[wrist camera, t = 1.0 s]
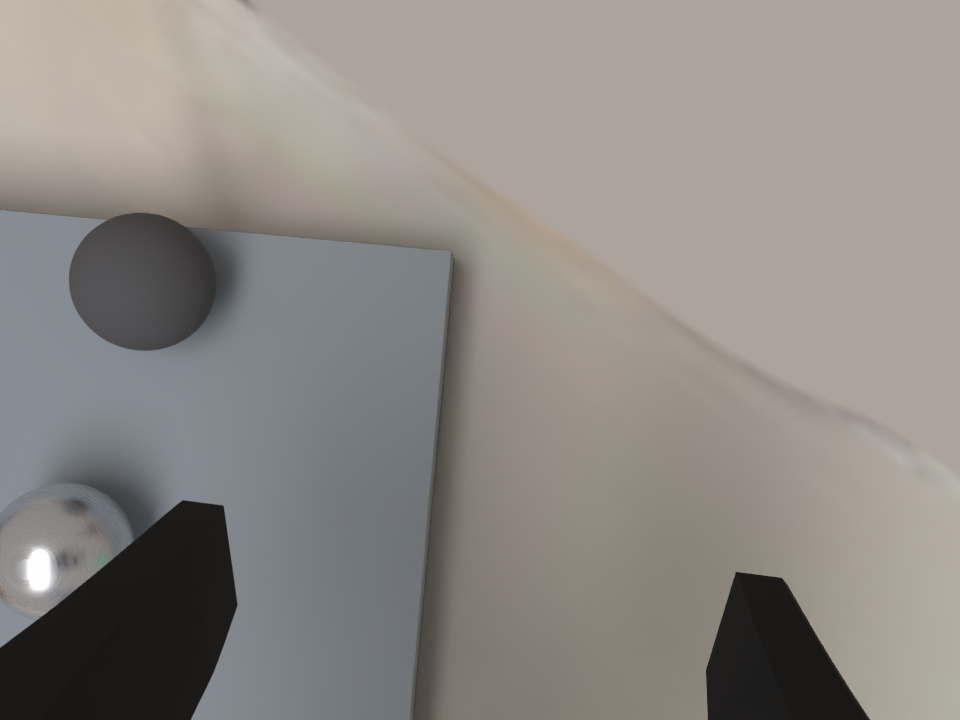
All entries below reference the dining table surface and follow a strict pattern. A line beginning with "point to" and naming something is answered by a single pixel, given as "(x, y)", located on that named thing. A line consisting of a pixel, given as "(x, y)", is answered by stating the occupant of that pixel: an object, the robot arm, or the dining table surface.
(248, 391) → the board
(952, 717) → the dining table surface
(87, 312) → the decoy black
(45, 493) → the steel ball
